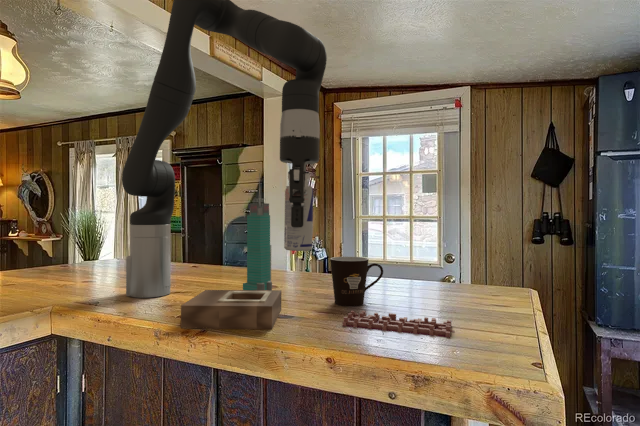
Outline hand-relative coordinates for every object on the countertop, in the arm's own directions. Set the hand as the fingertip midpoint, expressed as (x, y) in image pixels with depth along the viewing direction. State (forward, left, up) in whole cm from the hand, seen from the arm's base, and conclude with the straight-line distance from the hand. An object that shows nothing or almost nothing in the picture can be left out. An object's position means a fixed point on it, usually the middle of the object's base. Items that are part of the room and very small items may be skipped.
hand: (298, 226), depth 76 cm
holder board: (-12, +1, -18) cm, 21 cm away
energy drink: (0, 0, -5) cm, 5 cm away
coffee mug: (+12, +14, -18) cm, 26 cm away
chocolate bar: (+19, -4, -19) cm, 26 cm away
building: (-11, +22, -18) cm, 30 cm away
